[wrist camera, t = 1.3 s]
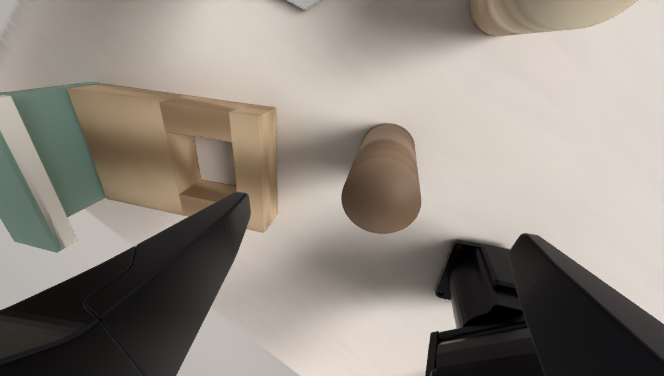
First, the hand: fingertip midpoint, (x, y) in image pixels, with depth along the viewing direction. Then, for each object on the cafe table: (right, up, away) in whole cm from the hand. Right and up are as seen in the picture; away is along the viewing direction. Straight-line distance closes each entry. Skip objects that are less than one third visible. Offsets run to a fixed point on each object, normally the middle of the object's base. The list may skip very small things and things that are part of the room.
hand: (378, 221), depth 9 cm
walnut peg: (+3, +4, +12) cm, 13 cm away
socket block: (-14, +4, +16) cm, 22 cm away
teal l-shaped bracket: (-21, +6, +17) cm, 28 cm away
